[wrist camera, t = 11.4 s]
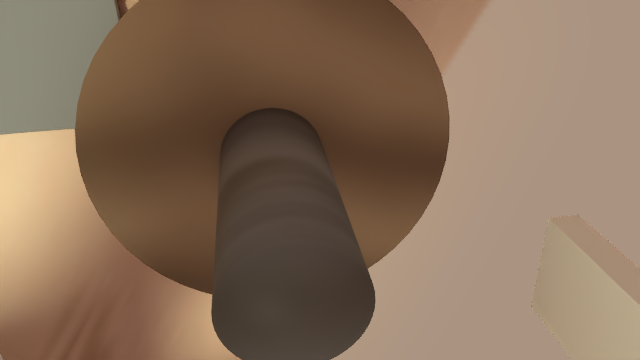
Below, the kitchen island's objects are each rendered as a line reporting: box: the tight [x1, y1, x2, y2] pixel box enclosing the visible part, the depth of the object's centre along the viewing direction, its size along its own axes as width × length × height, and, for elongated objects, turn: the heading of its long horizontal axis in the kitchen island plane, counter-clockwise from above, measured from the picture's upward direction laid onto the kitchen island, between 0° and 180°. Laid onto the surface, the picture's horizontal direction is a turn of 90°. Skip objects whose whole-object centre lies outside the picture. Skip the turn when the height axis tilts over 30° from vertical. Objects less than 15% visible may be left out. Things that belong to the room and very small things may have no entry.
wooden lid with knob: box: [75, 0, 449, 360], centre depth 15 cm, size 13×13×9 cm
